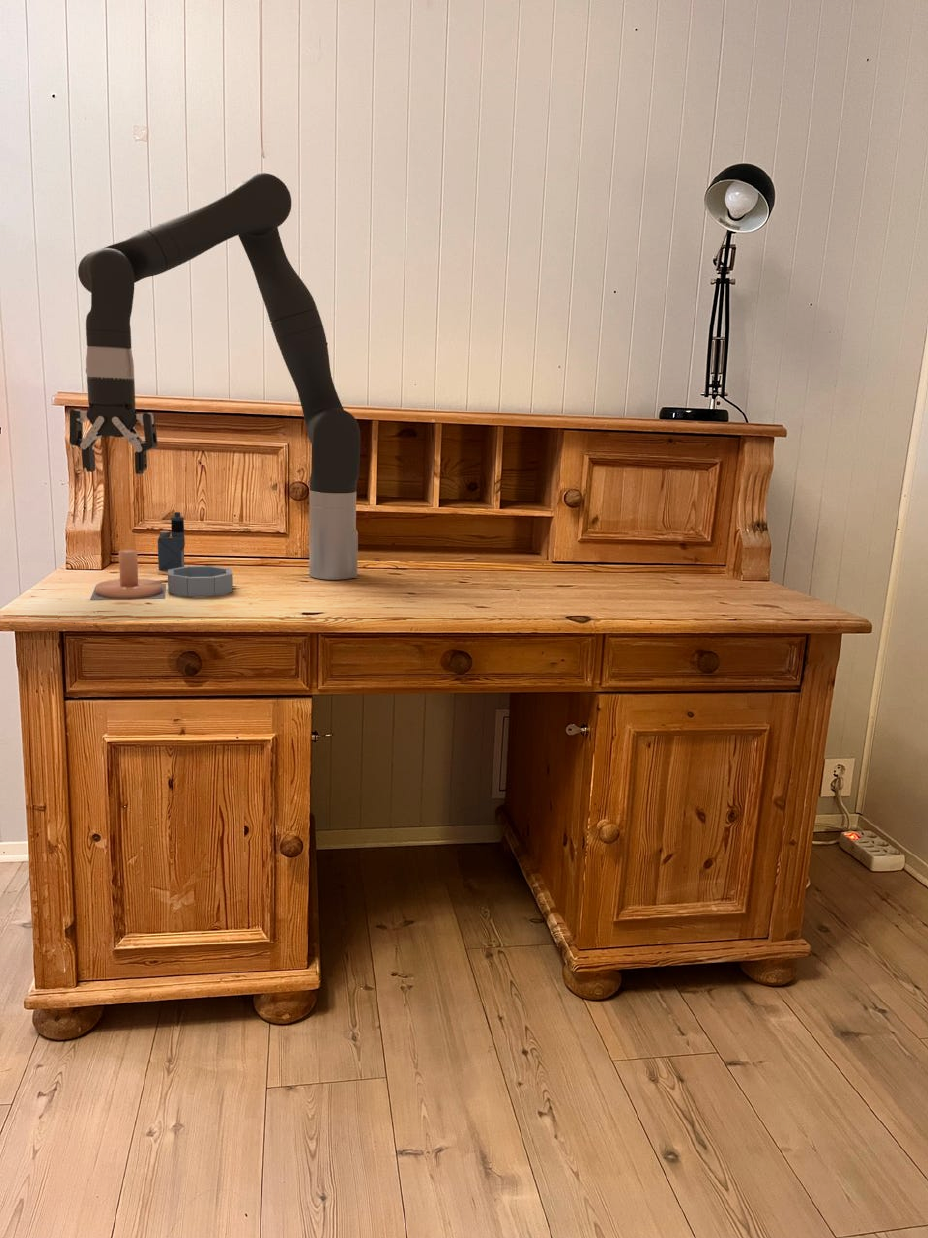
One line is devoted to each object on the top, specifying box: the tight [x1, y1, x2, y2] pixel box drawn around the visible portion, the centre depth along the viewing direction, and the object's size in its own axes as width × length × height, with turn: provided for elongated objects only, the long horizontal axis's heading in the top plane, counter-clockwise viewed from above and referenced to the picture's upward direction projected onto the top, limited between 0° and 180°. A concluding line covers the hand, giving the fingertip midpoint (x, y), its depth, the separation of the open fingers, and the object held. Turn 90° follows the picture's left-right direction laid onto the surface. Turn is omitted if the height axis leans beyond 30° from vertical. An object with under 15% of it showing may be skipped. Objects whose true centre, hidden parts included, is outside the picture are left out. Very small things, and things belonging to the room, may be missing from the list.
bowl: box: [167, 565, 234, 598], centre depth 161 cm, size 11×11×4 cm
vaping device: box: [157, 511, 186, 572], centre depth 177 cm, size 3×5×12 cm, turn 89°
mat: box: [89, 583, 167, 601], centre depth 158 cm, size 12×12×1 cm
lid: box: [95, 549, 163, 599], centre depth 157 cm, size 11×11×7 cm
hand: (115, 472), depth 155 cm, fingers open, 8 cm apart
